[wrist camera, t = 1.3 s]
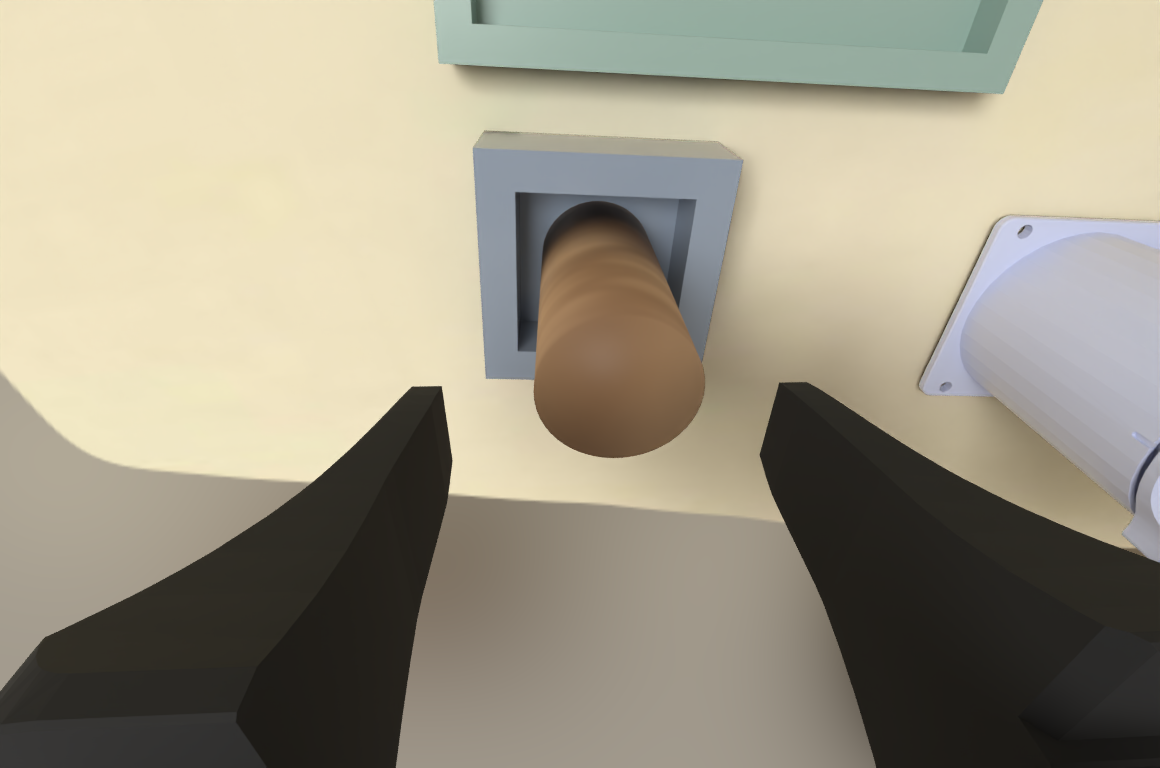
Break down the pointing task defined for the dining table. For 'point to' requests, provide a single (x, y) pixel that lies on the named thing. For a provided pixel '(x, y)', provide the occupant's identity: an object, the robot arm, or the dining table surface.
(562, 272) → the dowel
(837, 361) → the dining table surface
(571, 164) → the grey square recessed block
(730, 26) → the tray
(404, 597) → the robot arm
